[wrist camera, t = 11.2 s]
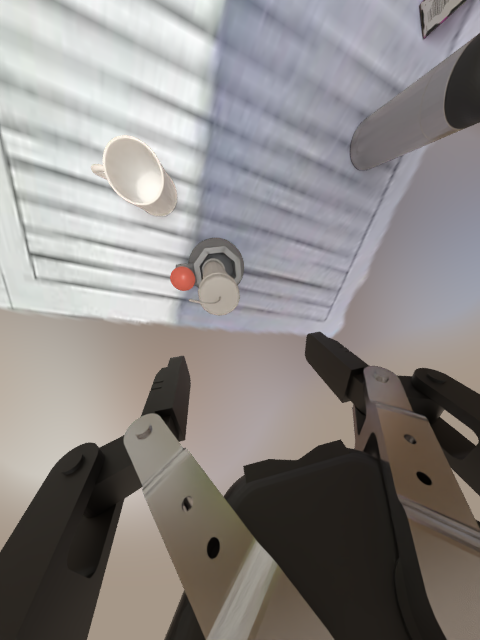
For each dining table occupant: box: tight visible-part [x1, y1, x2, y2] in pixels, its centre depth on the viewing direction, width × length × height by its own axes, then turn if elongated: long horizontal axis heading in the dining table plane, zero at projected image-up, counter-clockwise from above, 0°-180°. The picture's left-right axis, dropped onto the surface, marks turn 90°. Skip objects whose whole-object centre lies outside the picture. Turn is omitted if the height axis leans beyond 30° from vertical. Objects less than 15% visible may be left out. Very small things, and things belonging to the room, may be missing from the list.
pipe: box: [189, 258, 240, 316], centre depth 30 cm, size 6×6×30 cm
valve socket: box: [170, 238, 244, 291], centre depth 40 cm, size 17×14×10 cm
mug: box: [91, 135, 177, 216], centre depth 30 cm, size 12×8×12 cm
